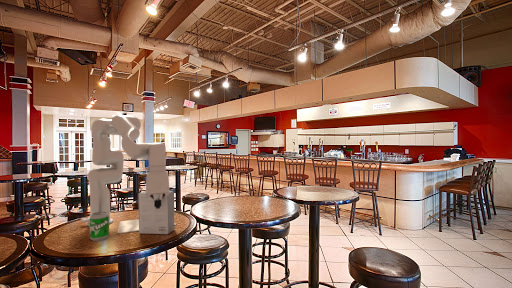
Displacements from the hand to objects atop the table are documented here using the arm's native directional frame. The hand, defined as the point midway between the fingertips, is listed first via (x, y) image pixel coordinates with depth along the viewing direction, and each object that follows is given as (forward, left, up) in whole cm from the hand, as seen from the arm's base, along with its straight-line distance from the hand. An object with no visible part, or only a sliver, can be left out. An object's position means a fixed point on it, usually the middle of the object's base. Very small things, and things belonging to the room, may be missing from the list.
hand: (157, 208), depth 116 cm
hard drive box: (0, +9, -14) cm, 17 cm away
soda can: (-25, +12, -14) cm, 31 cm away
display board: (-4, +26, -14) cm, 30 cm away
